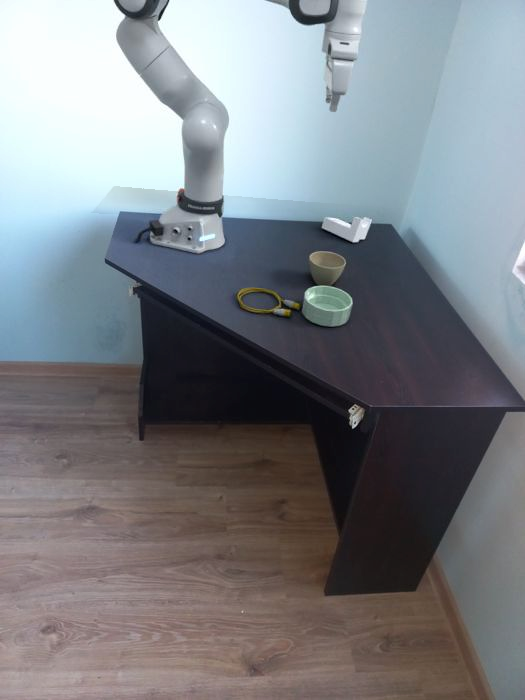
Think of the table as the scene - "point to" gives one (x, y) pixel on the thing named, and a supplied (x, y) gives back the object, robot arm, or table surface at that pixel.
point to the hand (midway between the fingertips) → (330, 106)
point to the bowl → (327, 306)
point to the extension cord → (275, 311)
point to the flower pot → (326, 267)
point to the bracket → (348, 228)
